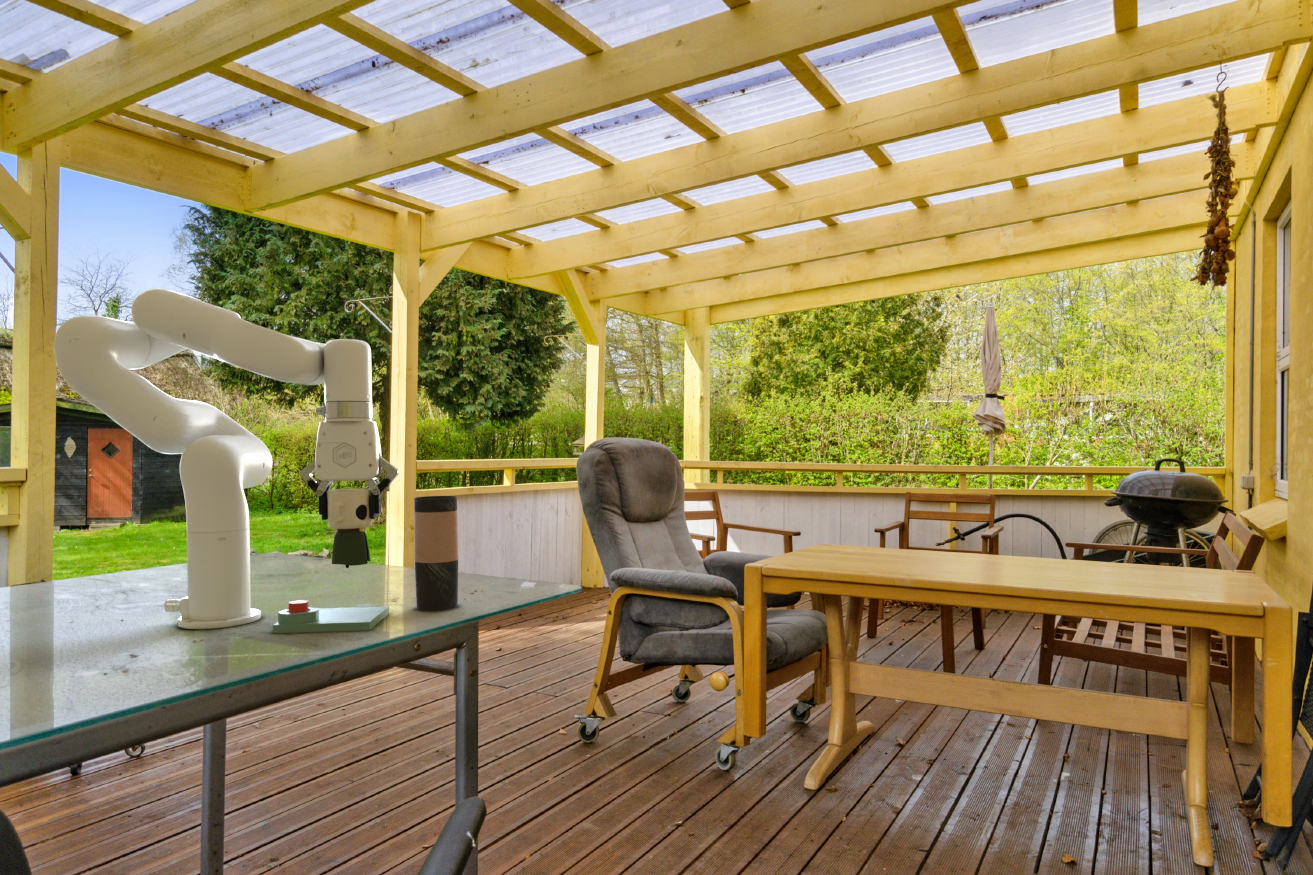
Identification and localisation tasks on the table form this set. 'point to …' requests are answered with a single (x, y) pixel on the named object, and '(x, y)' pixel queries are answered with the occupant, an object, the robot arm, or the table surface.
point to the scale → (330, 619)
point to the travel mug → (436, 552)
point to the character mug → (349, 525)
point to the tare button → (298, 606)
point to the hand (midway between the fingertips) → (350, 517)
